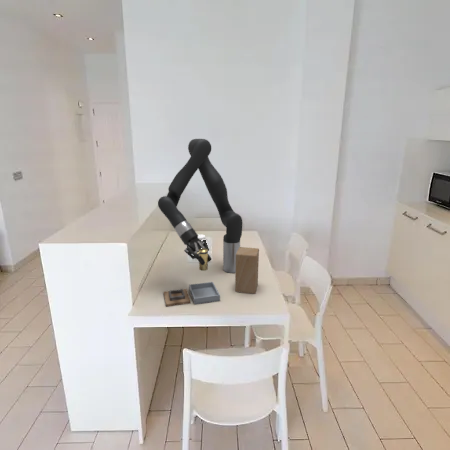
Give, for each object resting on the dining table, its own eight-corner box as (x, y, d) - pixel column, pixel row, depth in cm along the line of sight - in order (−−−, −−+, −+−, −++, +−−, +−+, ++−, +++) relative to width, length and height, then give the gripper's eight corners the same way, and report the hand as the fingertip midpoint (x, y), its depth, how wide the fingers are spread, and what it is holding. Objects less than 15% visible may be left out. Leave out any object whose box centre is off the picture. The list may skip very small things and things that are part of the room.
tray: (212, 287, 168) (212, 281, 167) (220, 300, 155) (220, 295, 154) (189, 290, 165) (189, 284, 164) (194, 304, 152) (194, 298, 151)
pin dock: (186, 291, 164) (186, 286, 164) (190, 303, 153) (190, 298, 152) (163, 293, 161) (163, 288, 161) (166, 306, 150) (166, 301, 150)
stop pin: (206, 266, 159) (206, 247, 156) (208, 270, 155) (208, 251, 152) (198, 267, 157) (198, 248, 155) (200, 271, 154) (199, 251, 151)
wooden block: (257, 284, 171) (259, 248, 165) (255, 294, 162) (256, 255, 156) (238, 282, 173) (239, 246, 167) (235, 292, 164) (235, 253, 158)
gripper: (180, 232, 149) (201, 263, 146) (200, 224, 160) (220, 253, 157) (171, 240, 153) (192, 271, 151) (191, 232, 165) (211, 261, 162)
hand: (206, 262), depth 154 cm, fingers closed on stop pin, 4 cm apart
